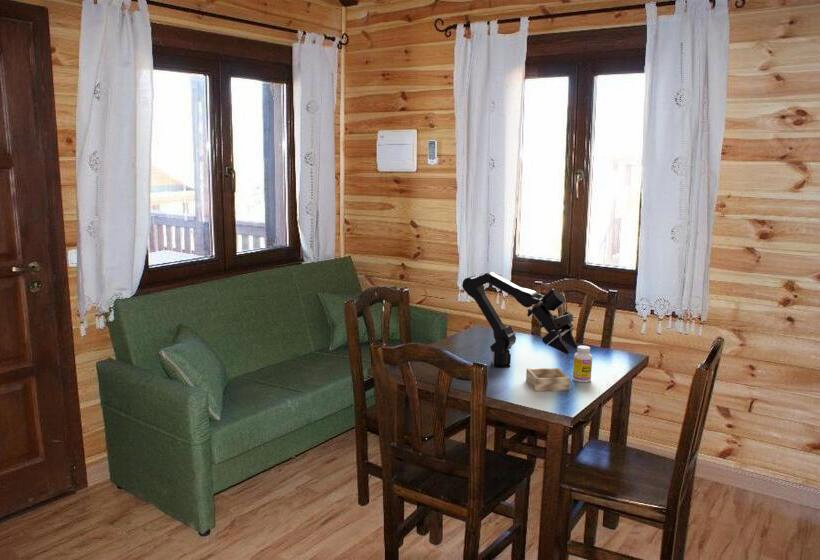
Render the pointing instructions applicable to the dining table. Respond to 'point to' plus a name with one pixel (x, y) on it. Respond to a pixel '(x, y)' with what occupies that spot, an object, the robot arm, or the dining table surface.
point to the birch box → (547, 379)
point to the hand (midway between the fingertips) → (572, 350)
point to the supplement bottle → (582, 364)
